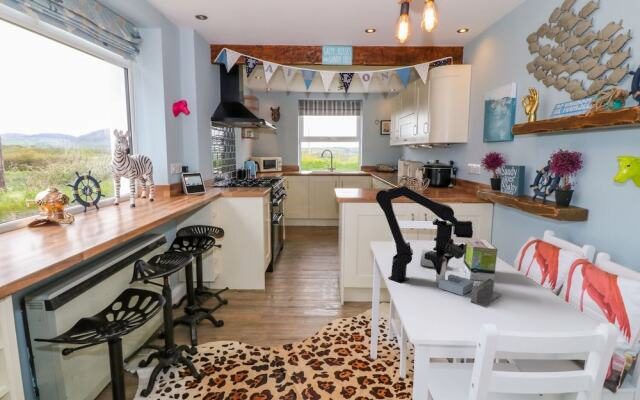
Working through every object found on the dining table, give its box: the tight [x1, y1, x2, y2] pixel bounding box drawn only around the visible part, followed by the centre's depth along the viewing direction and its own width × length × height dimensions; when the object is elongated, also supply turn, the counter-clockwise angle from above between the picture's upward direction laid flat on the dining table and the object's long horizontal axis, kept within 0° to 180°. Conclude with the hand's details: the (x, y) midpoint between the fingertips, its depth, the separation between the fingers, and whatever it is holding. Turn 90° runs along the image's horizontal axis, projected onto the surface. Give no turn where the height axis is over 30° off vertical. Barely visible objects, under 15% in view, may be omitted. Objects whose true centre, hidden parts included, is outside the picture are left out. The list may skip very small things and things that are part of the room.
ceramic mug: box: [419, 249, 435, 269], centre depth 163 cm, size 11×8×8 cm
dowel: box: [435, 257, 447, 284], centre depth 140 cm, size 3×3×10 cm
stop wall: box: [470, 279, 503, 308], centre depth 127 cm, size 16×5×5 cm, turn 134°
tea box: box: [462, 238, 498, 282], centre depth 151 cm, size 15×10×15 cm, turn 168°
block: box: [438, 273, 475, 296], centre depth 136 cm, size 10×10×3 cm
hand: (440, 273), depth 140 cm, fingers closed on dowel, 3 cm apart
